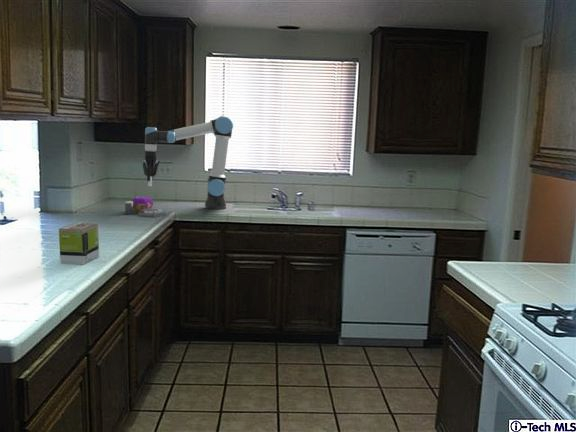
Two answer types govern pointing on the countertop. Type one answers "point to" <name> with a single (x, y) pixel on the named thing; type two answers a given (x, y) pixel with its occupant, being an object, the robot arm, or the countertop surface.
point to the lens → (129, 208)
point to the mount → (151, 212)
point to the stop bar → (138, 207)
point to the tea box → (78, 243)
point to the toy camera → (143, 201)
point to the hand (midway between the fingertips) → (150, 186)
